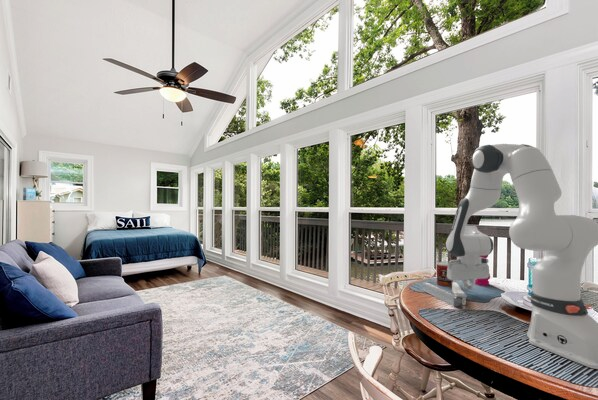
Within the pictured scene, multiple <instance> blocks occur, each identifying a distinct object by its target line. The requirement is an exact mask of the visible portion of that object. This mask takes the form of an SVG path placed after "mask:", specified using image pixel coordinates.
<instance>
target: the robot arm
mask: <svg viewBox="0 0 598 400" xmlns="http://www.w3.org/2000/svg"><path fill="white" fill-rule="evenodd" d="M471 165H472V166H473V168H474V169H473V170H472V171H473V172H472V174H471V175H472V176H471V179H470V180H471V181H470V184H469V185H470V186H469V189H468V192H467V194H466V196H465V197H463V199H461V200H460V201H459V203H458V205H457V208H456V212H455V215H454V218H453V221H452V224H451V229H450V231H449V233H448V236H447V238H446V240H445V248H446V251H447V252H448V253H449V254H450V255H452V256H454V258H456V259H450V261H449V262H448V268H447V278H448V279H450V280H452V281H453V282H454V281H461V283H462V284H463V288H464V289H465V290H472V289H473V286H474V284H475V280H476V279H485V278H488V277H489V274H490V266H489V259H488V258H483V257H480V256H485V255H488V256H489V255H490V254H491V253H493V250H494V240H493V239H492V238H491V237H490V236H489V235H488V234H485V233H483V232H481V230H479V229H478V227H477V225H474V224H468V222H469V219H470V217H471V216H473V215H474V214H476V213H478V212H480V211H483V210H486V209H490V208H492V207H493V206H495V205H496V204H497V203H498V202H499V200H500V198H501V194H502V187H503V179H504V176H505V175H507V174H509V175H510V179H511V181H512V185H513V187H514V190H515V193H516V196H517V199H518V213H517V215H516V218H515V219H514V220H513V221H512V222H511V223H510V226H509V230H508V234H509V238H510V240H511V242H512V243H513V245H515V246H516V247H517V248H520V249H523V250H528V251H533V252H545V253H544V255H543V257H542V258H541V260H540V261H539V262H537V263H535V265H533V267H532V269H531V270H532V271H531V276H532V278H531V279H532V280H531V282H532V290H531V292H530V303H531V304H532V305H531V306H532V309H531V317H530V323H529V327H528V330H527V332H526V335H527V338H528V343H529V344H530V345H534V346H536V347H538V348H540V349H543V350H545V351H547V352H550V353H552V354H555V355H558V356H560V357H562V358H565V359H567V360H570V361H572V362H575V363H578V364H580V365H582V366H585V367H587V368H591V369H596V370H598V322H597V321H596V320H595V319H594V318H593V317H592V316H591V315H589V311H588V310H592V308H593V307H592V305H591V304H586V305H585V303H584V300H583V299H582V298H581V280H582V279H581V278H582V277H581V276H582V270H583V267H584V264H585V262H586V260H587V258H588V256H589V254H590V253H591V252H592V250H593V249H594V248H595V247H597V246H598V222H597V221H595V220H594V219H593V218H590V217H584V216H581V215H573V214H567V215H566V214H564V215H562V214H559V215H557V213H556V211H555V203H556V202H557V201H559V199H561V196H562V194H563V193H562V189H561V187H560V184H559V182H558V180H557V178H556V175H555V173H554V170H553V169H552V166H551V165H550V162H549V161H548V159H547V157H545V155H544V154H543V152H542V151H541V150H540V149H539V148H537V147H535V146H533V145H531V144H530V145H529V144H524V143H522V144H517V143H516V144H514V143H512V144H511V143H509V144H508V143H497V144H486V145H485V144H484V145H481V146H479V147H477V148H476V149H475V150H474V152H473V154H472V156H471ZM591 307H592V308H591Z"/></svg>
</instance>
